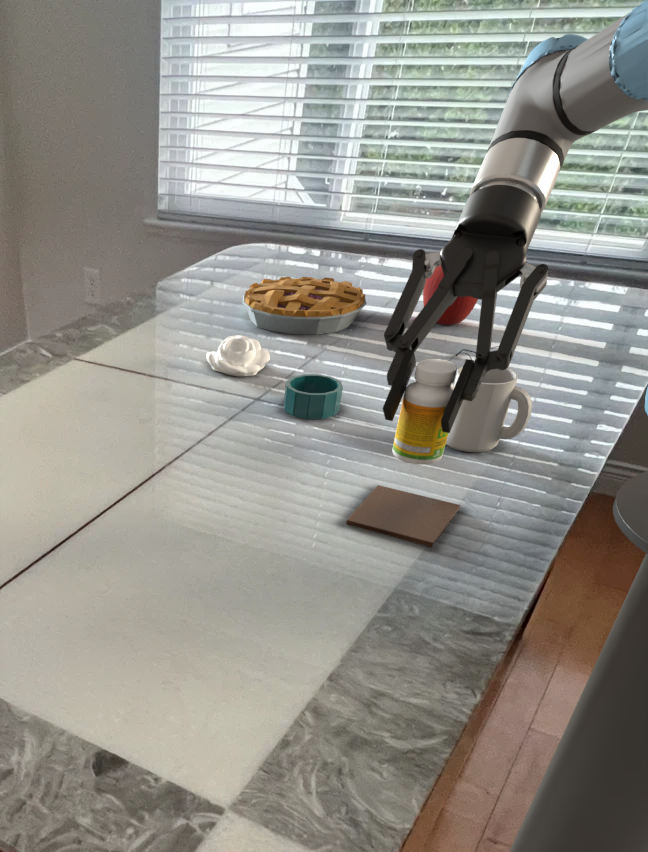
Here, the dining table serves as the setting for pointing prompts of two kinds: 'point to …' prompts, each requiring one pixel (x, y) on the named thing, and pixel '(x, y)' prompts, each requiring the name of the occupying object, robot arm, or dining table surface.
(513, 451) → the dining table surface
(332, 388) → the teal bowl
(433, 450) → the supplement bottle
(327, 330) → the pie
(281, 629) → the dining table surface
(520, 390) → the cup
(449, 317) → the apple
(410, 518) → the coaster
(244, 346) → the rose
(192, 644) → the dining table surface
